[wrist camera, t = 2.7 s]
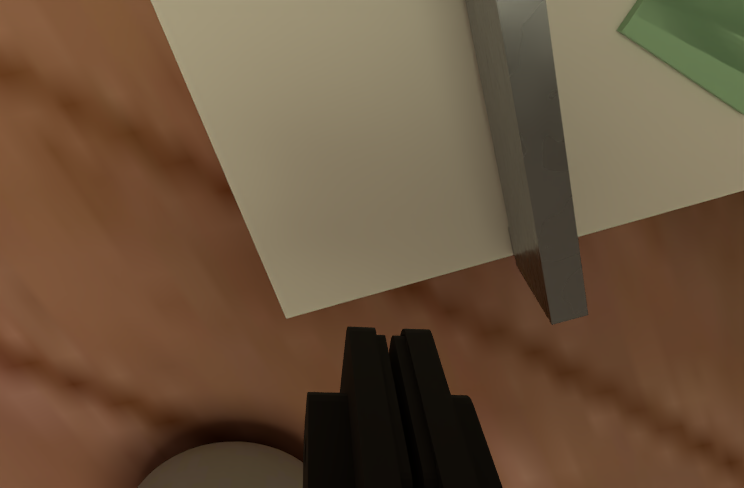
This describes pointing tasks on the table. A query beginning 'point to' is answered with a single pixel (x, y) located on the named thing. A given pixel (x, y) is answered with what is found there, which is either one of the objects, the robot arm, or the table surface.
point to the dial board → (445, 127)
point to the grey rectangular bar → (530, 148)
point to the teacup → (228, 468)
